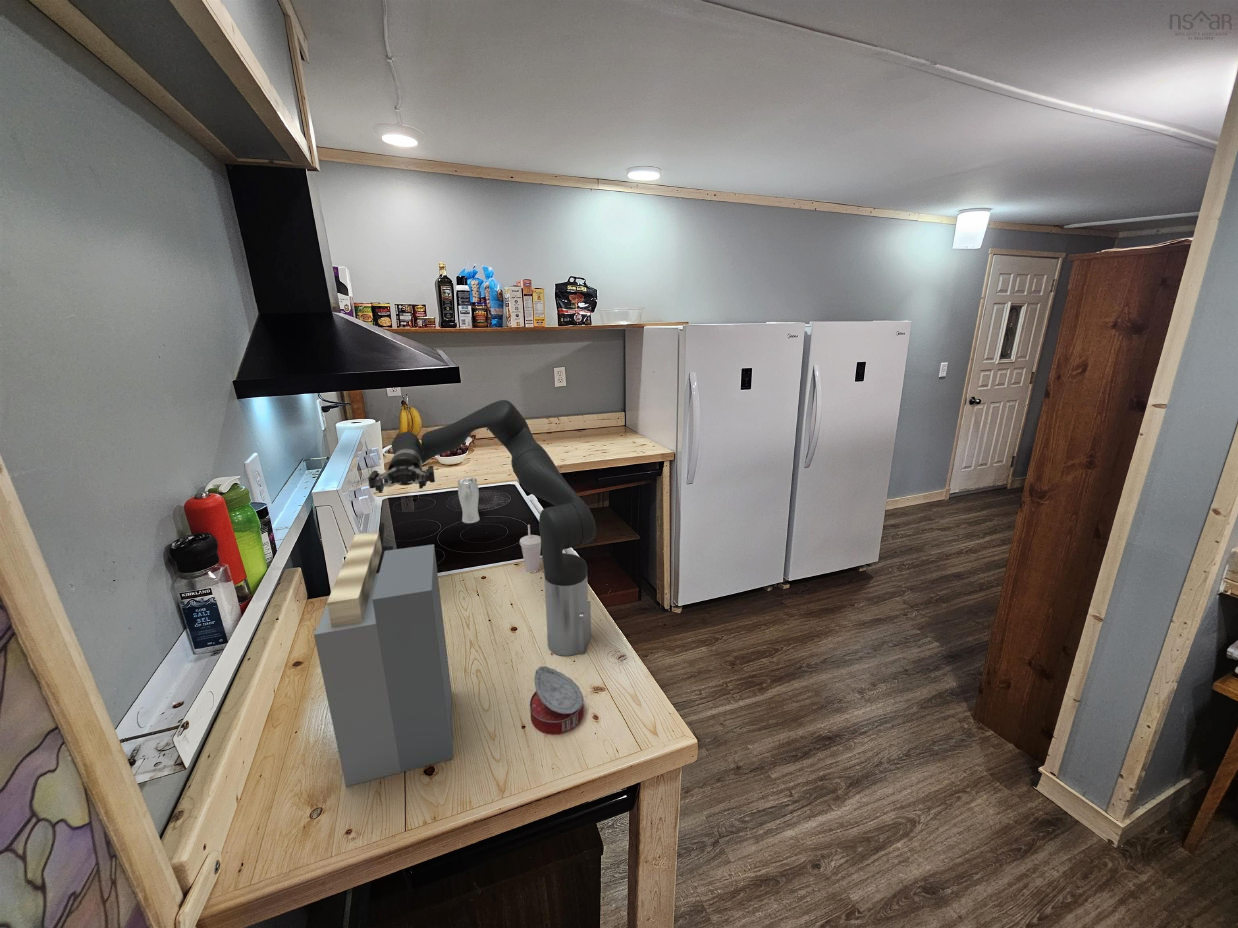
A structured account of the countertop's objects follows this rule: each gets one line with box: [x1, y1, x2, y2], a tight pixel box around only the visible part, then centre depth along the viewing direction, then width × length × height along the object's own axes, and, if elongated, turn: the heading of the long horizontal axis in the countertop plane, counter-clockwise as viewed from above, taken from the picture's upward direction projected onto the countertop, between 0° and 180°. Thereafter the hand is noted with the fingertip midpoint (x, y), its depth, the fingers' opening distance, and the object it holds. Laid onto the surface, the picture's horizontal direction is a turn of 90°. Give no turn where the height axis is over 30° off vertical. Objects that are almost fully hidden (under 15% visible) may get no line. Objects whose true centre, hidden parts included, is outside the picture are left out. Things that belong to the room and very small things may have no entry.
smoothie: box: [519, 524, 542, 573], centre depth 141 cm, size 6×6×14 cm
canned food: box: [529, 665, 584, 736], centre depth 91 cm, size 11×10×10 cm
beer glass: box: [457, 477, 480, 524], centre depth 176 cm, size 7×7×15 cm
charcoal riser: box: [313, 544, 454, 788], centre depth 82 cm, size 16×16×32 cm
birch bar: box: [326, 531, 383, 627], centre depth 82 cm, size 24×4×4 cm, turn 19°
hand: (400, 486), depth 111 cm, fingers open, 8 cm apart
